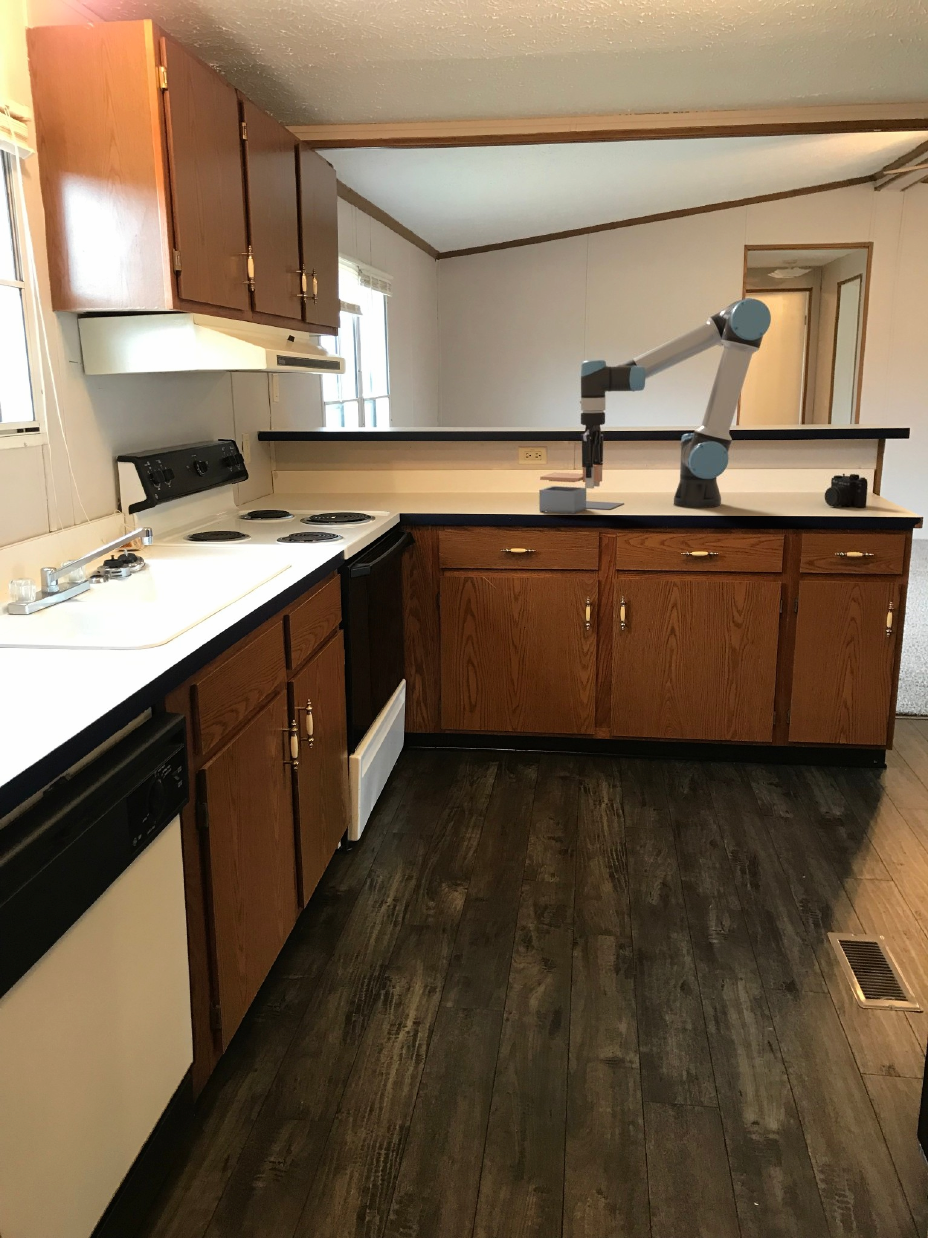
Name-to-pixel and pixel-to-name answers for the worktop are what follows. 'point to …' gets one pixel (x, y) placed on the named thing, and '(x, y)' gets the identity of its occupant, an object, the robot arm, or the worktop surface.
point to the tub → (562, 499)
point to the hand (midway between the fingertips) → (592, 486)
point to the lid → (574, 476)
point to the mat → (602, 505)
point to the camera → (847, 491)
